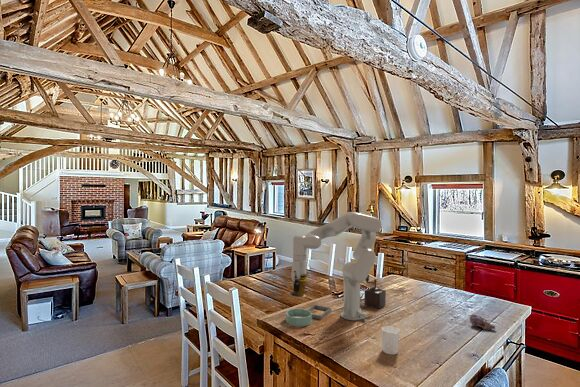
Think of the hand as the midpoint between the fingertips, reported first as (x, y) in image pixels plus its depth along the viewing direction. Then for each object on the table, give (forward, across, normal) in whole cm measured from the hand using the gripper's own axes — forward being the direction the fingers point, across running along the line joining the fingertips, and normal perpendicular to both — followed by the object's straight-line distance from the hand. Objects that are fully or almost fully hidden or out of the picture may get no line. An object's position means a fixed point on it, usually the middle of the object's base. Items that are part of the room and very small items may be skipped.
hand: (299, 289), depth 181 cm
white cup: (+18, +8, +52) cm, 56 cm away
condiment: (+3, +1, -1) cm, 3 cm away
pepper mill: (+18, -50, +27) cm, 60 cm away
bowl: (+18, 0, 0) cm, 18 cm away
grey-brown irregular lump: (+18, -44, +89) cm, 101 cm away
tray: (+18, -16, +4) cm, 24 cm away
